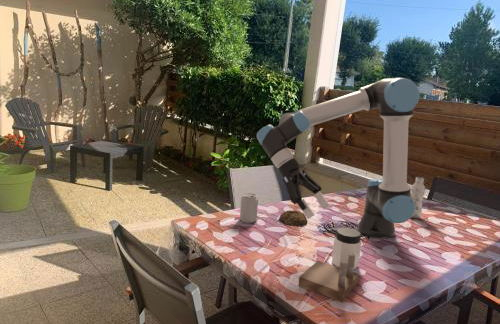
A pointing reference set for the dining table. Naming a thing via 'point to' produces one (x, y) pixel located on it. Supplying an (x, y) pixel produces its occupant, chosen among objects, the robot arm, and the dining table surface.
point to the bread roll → (293, 218)
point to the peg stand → (331, 279)
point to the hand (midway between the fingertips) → (319, 212)
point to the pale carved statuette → (418, 196)
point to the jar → (346, 246)
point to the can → (249, 208)
